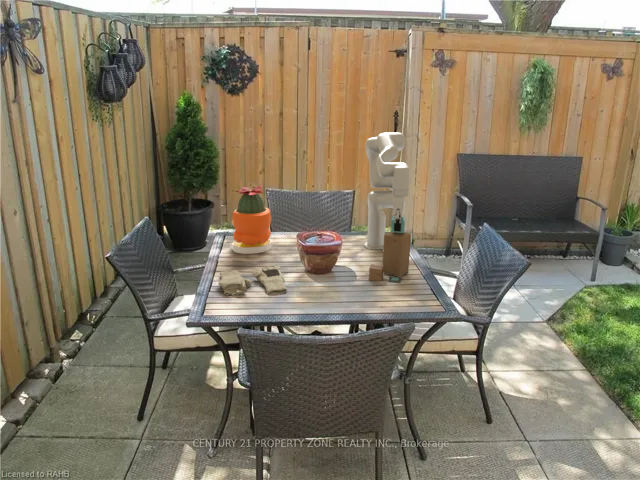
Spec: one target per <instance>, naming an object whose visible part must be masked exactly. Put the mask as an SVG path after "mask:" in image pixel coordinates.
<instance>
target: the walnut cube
mask: <svg viewBox="0 0 640 480" xmlns="http://www.w3.org/2000/svg"><path fill="white" fill-rule="evenodd" d="M383 270H384V265H382V264H379V263H378V264H376V263H370V266H369V268H368V280H369V281H377V282H382V280H383V278H384V273H383Z"/></svg>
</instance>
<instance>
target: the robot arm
mask: <svg viewBox="0 0 640 480" xmlns="http://www.w3.org/2000/svg"><path fill="white" fill-rule="evenodd" d="M364 145H365V149H364V150H365V153H366V157H367V160H368V164H369V171H368V172H369V175H368V176H369V184H370V187H371V188H373V189H374V188H375V189H389V190H373V191H372V190H371V191H369V193H368V194H367V206H368V207H367V211H368V213H367V215H368V216H367V220H368V221H367V238H366V239H367V240H366V241H365V242H364V244H363V247H364V248H366V249H368V250H374V251H376V250H377V251H379V250H383V245H384V235H385V234H386V219H387V218H386V214H385V212H384V211H383V210H382V209H392V213H391V214H392V215H391V216H392V218H393V217H395V223H394V231H398V232H400V231H401V217H404V215H405V207H406V198H407V197H409V193H410V192H409V191H410V187H409V186H410V177H411V168H410V166H409V165H408V163H405V162H401V161H398V162H395V161H394V160H395V159H397V157H398V156H399V152H401V151H402V150H403V149H404V148H405V145H406V137H405V135H404V134H403V133H402V132H382V133H379V134H378V135H377V136H374V137H370V138H367V139H366V141H365V144H364ZM392 161H394V162H392ZM399 218H400V220H399Z"/></svg>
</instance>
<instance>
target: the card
mask: <svg viewBox="0 0 640 480" xmlns="http://www.w3.org/2000/svg"><path fill="white" fill-rule="evenodd" d="M402 279H403V277H401V276H400V277H397V276H392V275H391V276H388V280H387V282H388V283H394V284H395V283H396V284H401V283H402Z"/></svg>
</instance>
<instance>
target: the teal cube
mask: <svg viewBox="0 0 640 480" xmlns="http://www.w3.org/2000/svg"><path fill="white" fill-rule="evenodd" d="M406 219H407V218H406V217H404V216H403V217H401V231H400V232H398V231H394V223H395V216H394V217H392V218H391V224H390V232H397V233H404V232H405V230H406ZM399 220H400V218H399Z"/></svg>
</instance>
